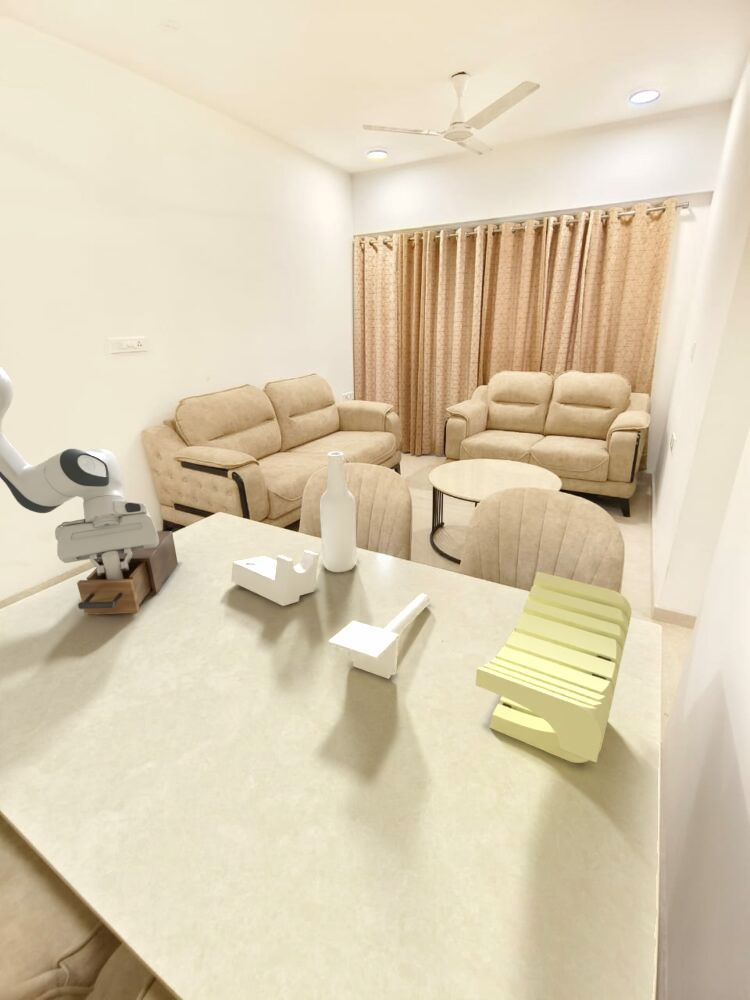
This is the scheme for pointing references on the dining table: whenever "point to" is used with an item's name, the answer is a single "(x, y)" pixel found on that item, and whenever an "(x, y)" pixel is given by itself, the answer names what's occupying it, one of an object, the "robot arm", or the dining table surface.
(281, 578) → the white cradle stand
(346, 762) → the dining table surface
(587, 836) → the dining table surface
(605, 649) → the slatted curved stool
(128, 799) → the dining table surface
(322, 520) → the alcohol
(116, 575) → the tube
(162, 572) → the cabinet
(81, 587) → the drawer
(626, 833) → the dining table surface
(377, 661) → the white block on rod
